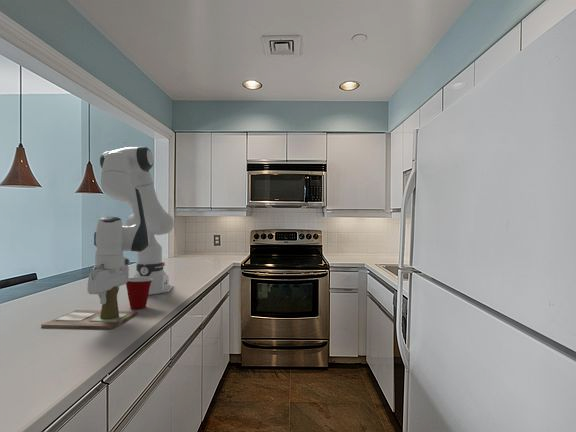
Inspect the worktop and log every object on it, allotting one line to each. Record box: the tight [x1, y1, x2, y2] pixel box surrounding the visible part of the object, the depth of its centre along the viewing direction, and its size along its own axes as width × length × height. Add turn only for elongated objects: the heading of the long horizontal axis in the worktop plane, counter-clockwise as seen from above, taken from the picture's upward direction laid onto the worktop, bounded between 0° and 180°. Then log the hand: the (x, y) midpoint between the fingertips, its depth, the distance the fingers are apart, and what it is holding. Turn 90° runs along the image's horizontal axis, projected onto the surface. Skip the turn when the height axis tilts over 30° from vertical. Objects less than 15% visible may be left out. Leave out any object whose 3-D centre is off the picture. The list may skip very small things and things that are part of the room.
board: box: [40, 309, 139, 330], centre depth 124 cm, size 18×24×1 cm
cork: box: [100, 286, 120, 319], centre depth 124 cm, size 6×6×11 cm
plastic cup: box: [125, 277, 153, 310], centre depth 142 cm, size 11×11×12 cm
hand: (108, 301), depth 124 cm, fingers open, 5 cm apart
